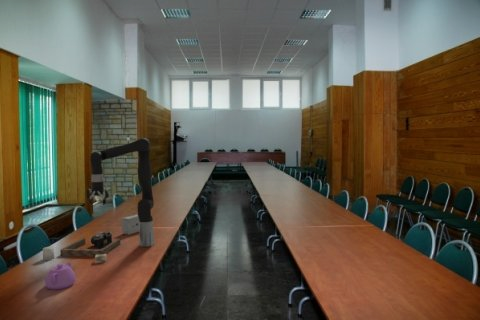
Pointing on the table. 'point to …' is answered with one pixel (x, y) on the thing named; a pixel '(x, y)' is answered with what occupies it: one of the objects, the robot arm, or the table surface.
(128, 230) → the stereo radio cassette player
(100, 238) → the camera
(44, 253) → the white capsule cylinder
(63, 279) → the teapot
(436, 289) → the table surface
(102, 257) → the birch block
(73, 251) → the corral
